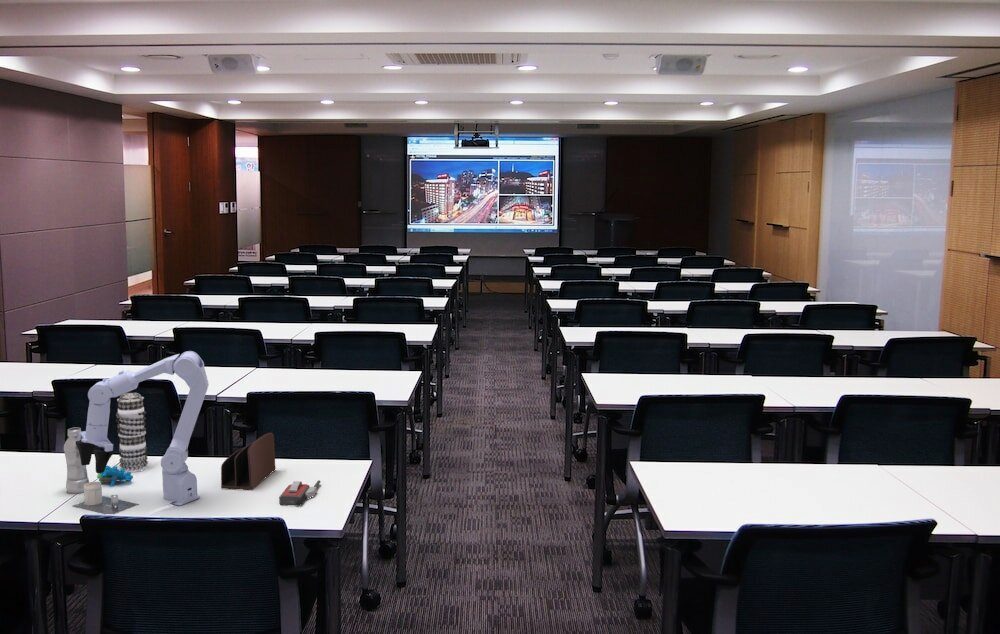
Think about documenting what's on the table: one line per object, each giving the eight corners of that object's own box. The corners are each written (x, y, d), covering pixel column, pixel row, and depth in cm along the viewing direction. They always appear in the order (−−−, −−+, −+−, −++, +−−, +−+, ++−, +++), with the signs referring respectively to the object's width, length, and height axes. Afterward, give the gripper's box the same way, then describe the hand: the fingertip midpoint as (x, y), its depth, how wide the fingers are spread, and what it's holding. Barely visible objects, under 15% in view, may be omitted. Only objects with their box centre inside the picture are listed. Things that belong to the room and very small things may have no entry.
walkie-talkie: (307, 508, 255) (322, 485, 275) (306, 493, 255) (322, 472, 275) (277, 507, 256) (294, 485, 275) (276, 493, 255) (294, 471, 275)
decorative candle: (141, 462, 296) (137, 389, 293) (154, 468, 290) (150, 394, 287) (114, 468, 290) (110, 394, 286) (126, 474, 284) (122, 398, 280)
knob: (94, 498, 258) (93, 480, 258) (105, 501, 256) (104, 482, 256) (81, 503, 254) (80, 484, 254) (92, 506, 252) (91, 486, 252)
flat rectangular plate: (139, 507, 254) (138, 492, 254) (110, 518, 245) (109, 503, 245) (101, 498, 261) (100, 484, 261) (71, 509, 252) (70, 494, 252)
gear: (140, 478, 275) (121, 462, 268) (134, 495, 272) (115, 480, 264) (109, 480, 278) (90, 465, 270) (103, 497, 274) (83, 482, 267)
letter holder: (275, 470, 289) (274, 429, 287) (251, 491, 269) (250, 446, 267) (246, 469, 290) (245, 428, 288) (220, 489, 271) (218, 445, 269)
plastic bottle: (64, 498, 262) (60, 432, 259) (68, 490, 268) (64, 427, 265) (88, 496, 263) (84, 431, 261) (91, 489, 270) (87, 425, 267)
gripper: (70, 418, 255) (65, 463, 256) (98, 431, 247) (93, 478, 248) (93, 415, 261) (88, 460, 262) (121, 428, 253) (116, 474, 254)
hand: (92, 468), depth 256 cm, fingers open, 7 cm apart
